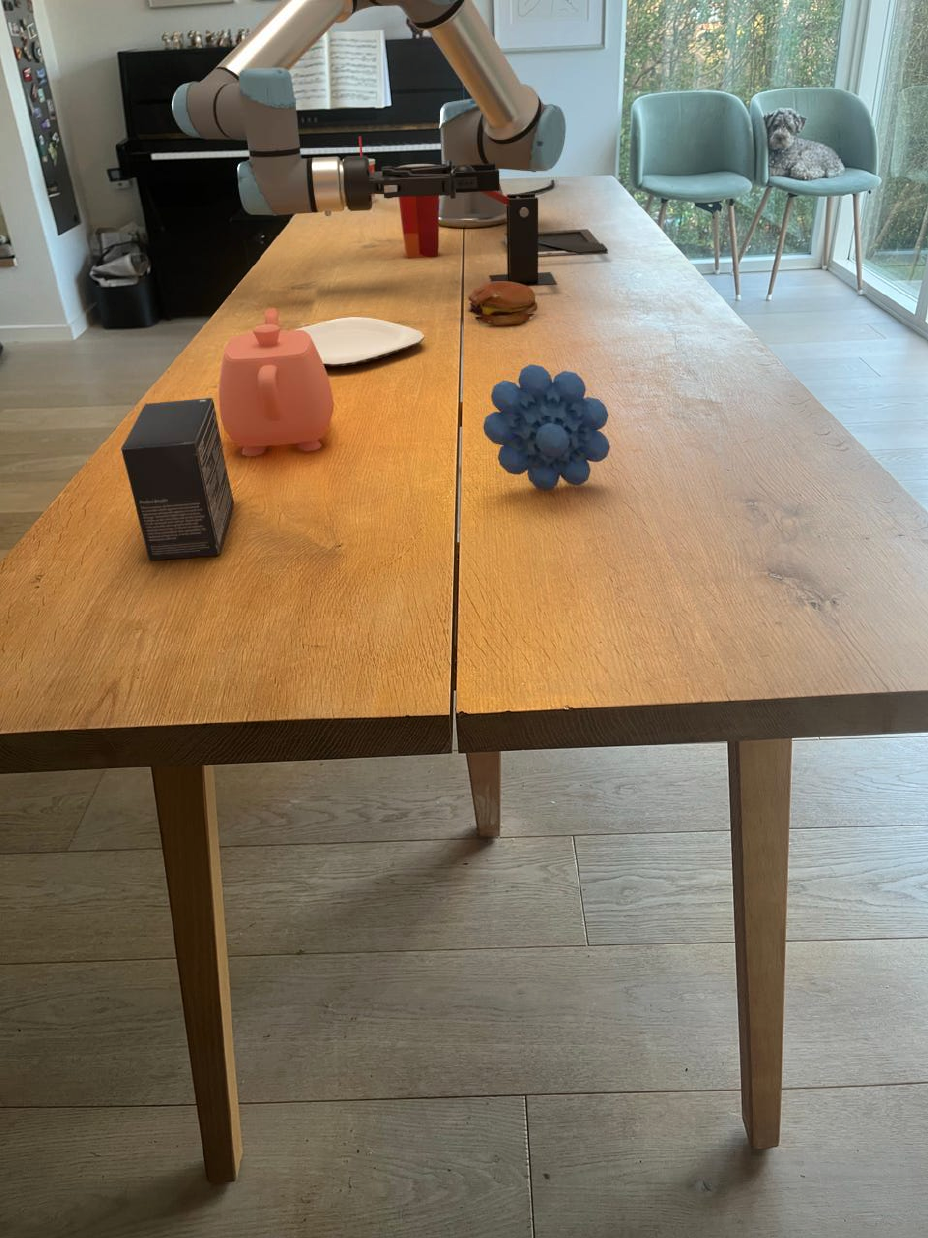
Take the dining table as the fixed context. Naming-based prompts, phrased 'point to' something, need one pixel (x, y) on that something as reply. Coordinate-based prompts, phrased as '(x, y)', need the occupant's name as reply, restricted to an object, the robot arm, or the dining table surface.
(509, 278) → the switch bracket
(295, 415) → the teapot
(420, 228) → the coffee cup
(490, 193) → the switch lever
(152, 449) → the small box
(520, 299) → the burger
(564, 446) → the blue beaded flower
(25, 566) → the dining table surface
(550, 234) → the picture frame
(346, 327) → the plate
